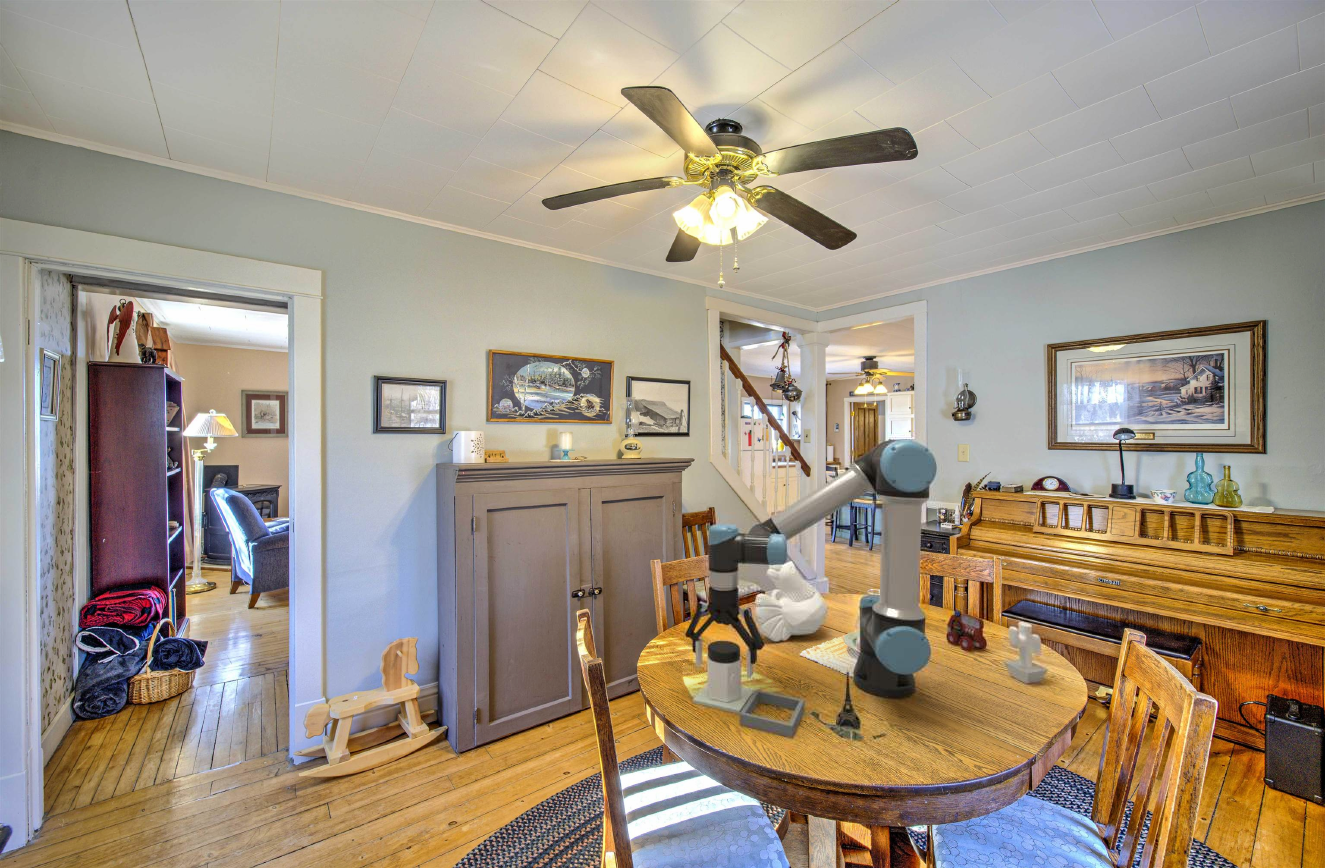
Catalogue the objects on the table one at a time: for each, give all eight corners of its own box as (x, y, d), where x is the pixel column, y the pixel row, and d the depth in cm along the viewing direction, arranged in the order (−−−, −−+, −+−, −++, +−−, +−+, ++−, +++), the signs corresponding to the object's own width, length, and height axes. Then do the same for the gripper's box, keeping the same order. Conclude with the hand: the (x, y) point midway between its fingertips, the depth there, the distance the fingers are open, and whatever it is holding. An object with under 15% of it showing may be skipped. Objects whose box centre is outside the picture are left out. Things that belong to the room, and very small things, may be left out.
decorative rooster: (817, 603, 187) (772, 549, 187) (843, 608, 172) (795, 549, 172) (770, 655, 179) (723, 599, 179) (793, 665, 164) (742, 604, 164)
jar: (720, 706, 128) (720, 656, 128) (700, 692, 134) (699, 645, 135) (748, 695, 133) (748, 647, 133) (727, 683, 139) (727, 637, 139)
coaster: (754, 692, 136) (754, 689, 136) (739, 714, 126) (739, 710, 126) (710, 682, 142) (710, 679, 142) (692, 702, 131) (692, 699, 131)
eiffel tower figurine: (806, 714, 126) (806, 658, 126) (840, 706, 130) (840, 651, 130) (851, 748, 112) (851, 685, 113) (888, 737, 116) (887, 676, 116)
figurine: (1052, 682, 140) (1051, 626, 141) (1024, 687, 138) (1024, 629, 138) (1026, 671, 147) (1025, 617, 148) (1000, 675, 145) (999, 620, 145)
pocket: (804, 710, 127) (804, 699, 127) (792, 737, 115) (792, 726, 115) (756, 699, 132) (755, 689, 132) (739, 724, 121) (739, 713, 121)
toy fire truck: (958, 637, 172) (957, 605, 172) (991, 652, 161) (991, 618, 161) (940, 640, 170) (940, 607, 170) (973, 655, 159) (973, 620, 159)
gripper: (776, 588, 132) (776, 674, 131) (684, 577, 143) (685, 656, 143) (768, 596, 125) (768, 687, 125) (672, 584, 136) (673, 667, 136)
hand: (724, 670), depth 134 cm, fingers open, 13 cm apart
